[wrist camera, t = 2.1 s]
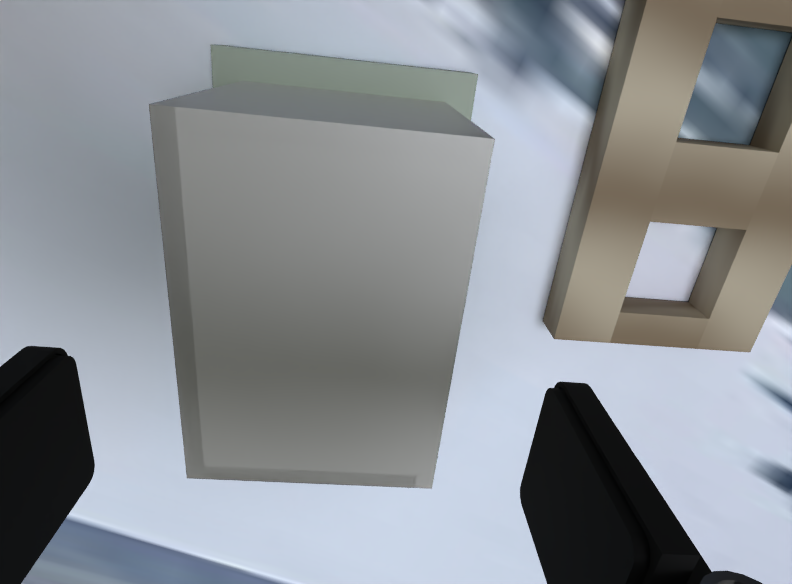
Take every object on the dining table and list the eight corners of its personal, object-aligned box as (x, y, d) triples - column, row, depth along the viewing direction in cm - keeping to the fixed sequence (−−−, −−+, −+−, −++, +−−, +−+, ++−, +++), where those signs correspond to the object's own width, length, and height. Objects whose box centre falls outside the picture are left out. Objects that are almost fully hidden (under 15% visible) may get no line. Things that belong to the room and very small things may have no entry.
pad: (220, 45, 18) (150, 43, 12) (471, 72, 19) (514, 83, 13) (232, 338, 23) (188, 431, 17) (429, 351, 24) (446, 444, 18)
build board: (635, -39, 17) (659, -47, 16) (878, -7, 18) (921, -12, 17) (542, 320, 23) (553, 338, 22) (727, 333, 24) (749, 352, 22)
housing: (242, 80, 17) (148, 104, 10) (445, 101, 18) (494, 138, 11) (249, 333, 22) (186, 478, 14) (412, 344, 22) (431, 488, 15)
